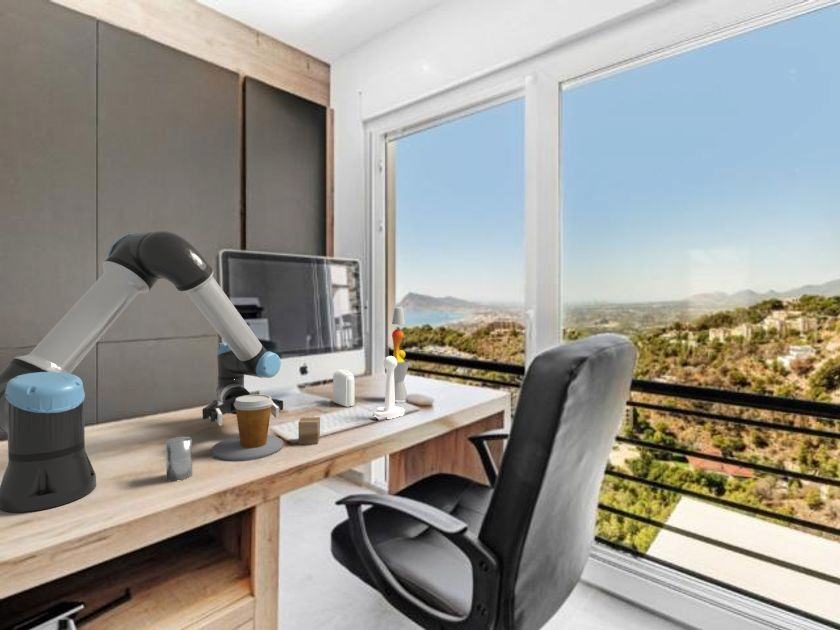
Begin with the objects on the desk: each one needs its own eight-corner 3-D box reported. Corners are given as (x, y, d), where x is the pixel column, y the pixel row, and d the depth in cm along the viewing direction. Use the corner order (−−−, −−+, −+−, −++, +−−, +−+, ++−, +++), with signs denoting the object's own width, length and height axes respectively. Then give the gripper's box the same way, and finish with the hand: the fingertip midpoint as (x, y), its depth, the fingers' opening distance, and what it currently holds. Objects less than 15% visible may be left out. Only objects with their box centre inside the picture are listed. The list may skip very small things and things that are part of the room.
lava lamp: (398, 404, 167) (399, 308, 165) (380, 400, 172) (381, 307, 171) (414, 400, 174) (415, 307, 172) (396, 396, 179) (397, 306, 178)
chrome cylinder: (180, 482, 97) (180, 444, 97) (161, 479, 98) (160, 442, 98) (197, 473, 102) (197, 437, 102) (178, 470, 103) (178, 435, 103)
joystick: (381, 421, 145) (381, 358, 144) (366, 417, 150) (366, 355, 149) (406, 415, 152) (407, 355, 151) (391, 411, 158) (392, 353, 157)
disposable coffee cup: (254, 436, 125) (254, 392, 125) (280, 441, 121) (280, 396, 120) (225, 446, 117) (225, 399, 116) (252, 452, 112) (252, 404, 112)
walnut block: (317, 444, 123) (317, 421, 122) (298, 444, 122) (298, 422, 122) (320, 438, 128) (320, 416, 127) (301, 438, 127) (301, 417, 127)
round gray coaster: (258, 464, 108) (258, 459, 108) (196, 456, 112) (196, 452, 112) (295, 441, 124) (295, 437, 124) (240, 435, 129) (240, 432, 129)
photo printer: (331, 402, 169) (331, 368, 169) (341, 400, 172) (341, 367, 171) (345, 407, 161) (345, 372, 161) (356, 406, 164) (356, 371, 163)
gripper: (279, 406, 140) (299, 424, 122) (188, 417, 128) (195, 438, 109) (279, 382, 140) (299, 396, 122) (188, 390, 127) (194, 407, 109)
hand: (250, 416), depth 116 cm, fingers open, 13 cm apart
